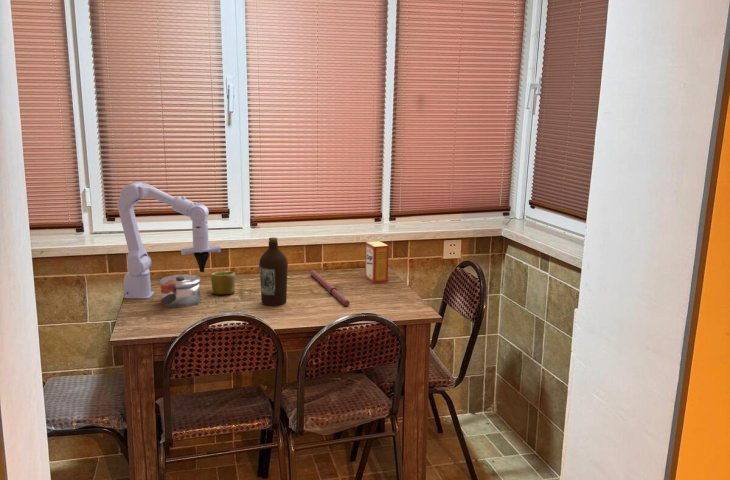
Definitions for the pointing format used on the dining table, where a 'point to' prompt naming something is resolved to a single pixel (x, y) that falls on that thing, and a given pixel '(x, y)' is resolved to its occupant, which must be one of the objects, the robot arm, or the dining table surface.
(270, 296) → the olive oil
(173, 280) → the cooker lid
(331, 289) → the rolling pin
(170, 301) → the silver pot
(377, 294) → the dining table surface
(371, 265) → the baking soda box
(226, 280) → the mug
